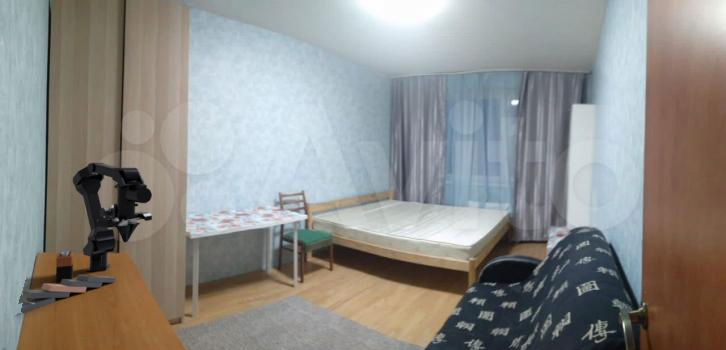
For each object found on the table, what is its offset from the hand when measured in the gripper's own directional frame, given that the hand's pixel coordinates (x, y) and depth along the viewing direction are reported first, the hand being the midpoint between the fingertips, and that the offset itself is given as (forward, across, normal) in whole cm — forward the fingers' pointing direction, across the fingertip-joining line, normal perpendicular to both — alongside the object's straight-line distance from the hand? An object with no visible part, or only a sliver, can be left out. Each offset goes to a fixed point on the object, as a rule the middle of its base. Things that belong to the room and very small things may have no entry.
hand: (125, 242), depth 133 cm
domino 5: (+12, +6, 0) cm, 14 cm away
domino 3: (+12, +16, 0) cm, 20 cm away
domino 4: (+12, +11, 0) cm, 17 cm away
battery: (+13, +10, -16) cm, 23 cm away
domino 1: (+12, +21, 0) cm, 24 cm away
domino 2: (+12, +26, 0) cm, 28 cm away
